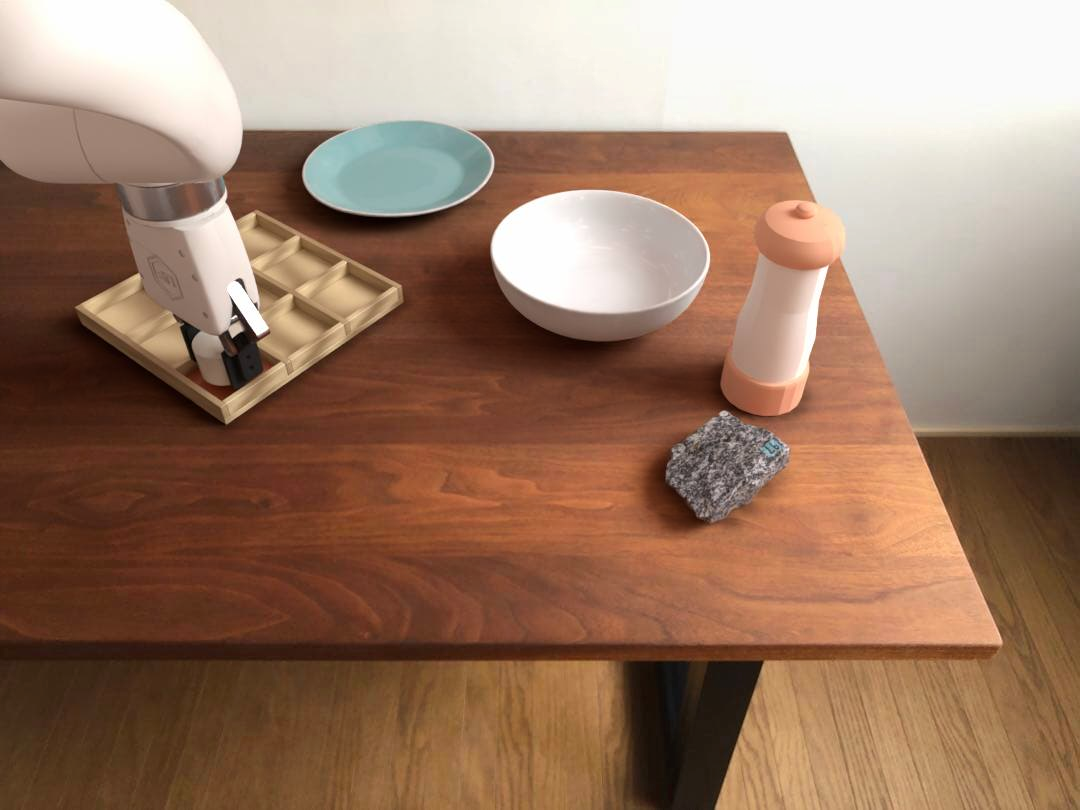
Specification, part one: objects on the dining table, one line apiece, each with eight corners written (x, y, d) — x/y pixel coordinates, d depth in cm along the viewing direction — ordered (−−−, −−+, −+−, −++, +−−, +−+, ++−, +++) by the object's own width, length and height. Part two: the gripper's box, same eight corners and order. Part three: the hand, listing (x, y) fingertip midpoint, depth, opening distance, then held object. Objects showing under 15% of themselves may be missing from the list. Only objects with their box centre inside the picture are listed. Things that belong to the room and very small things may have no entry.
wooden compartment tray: (226, 425, 77) (220, 407, 75) (81, 324, 86) (74, 307, 85) (403, 302, 89) (401, 285, 88) (260, 225, 99) (256, 209, 97)
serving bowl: (731, 355, 84) (743, 297, 79) (512, 385, 81) (511, 326, 76) (664, 233, 99) (671, 178, 94) (476, 254, 95) (474, 198, 91)
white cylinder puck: (224, 393, 77) (215, 366, 75) (189, 370, 79) (179, 343, 77) (267, 364, 80) (260, 337, 78) (233, 343, 82) (225, 315, 80)
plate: (266, 188, 104) (261, 166, 102) (405, 121, 117) (403, 100, 115) (395, 262, 94) (393, 239, 92) (533, 180, 106) (533, 158, 104)
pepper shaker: (795, 363, 83) (847, 181, 70) (807, 418, 78) (865, 233, 65) (717, 359, 84) (754, 177, 70) (723, 414, 79) (764, 229, 65)
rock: (638, 480, 73) (643, 445, 70) (725, 427, 77) (733, 392, 74) (703, 541, 69) (712, 506, 66) (792, 481, 73) (804, 446, 70)
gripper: (61, 167, 68) (134, 349, 81) (200, 246, 61) (256, 433, 73) (146, 131, 72) (203, 308, 85) (285, 201, 65) (325, 384, 78)
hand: (227, 364), depth 79 cm, fingers closed on white cylinder puck, 4 cm apart
